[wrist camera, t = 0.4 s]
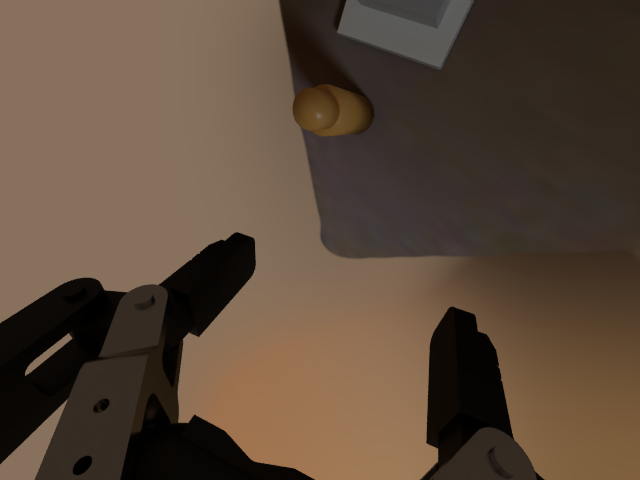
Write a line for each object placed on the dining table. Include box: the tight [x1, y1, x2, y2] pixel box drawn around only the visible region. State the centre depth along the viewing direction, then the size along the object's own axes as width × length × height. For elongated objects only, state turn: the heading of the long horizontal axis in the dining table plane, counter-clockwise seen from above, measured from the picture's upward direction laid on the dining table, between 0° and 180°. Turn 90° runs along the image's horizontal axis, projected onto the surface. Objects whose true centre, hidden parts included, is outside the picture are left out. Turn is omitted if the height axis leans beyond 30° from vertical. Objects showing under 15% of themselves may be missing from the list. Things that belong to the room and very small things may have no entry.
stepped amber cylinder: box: [293, 84, 374, 136], centre depth 28 cm, size 4×4×13 cm
